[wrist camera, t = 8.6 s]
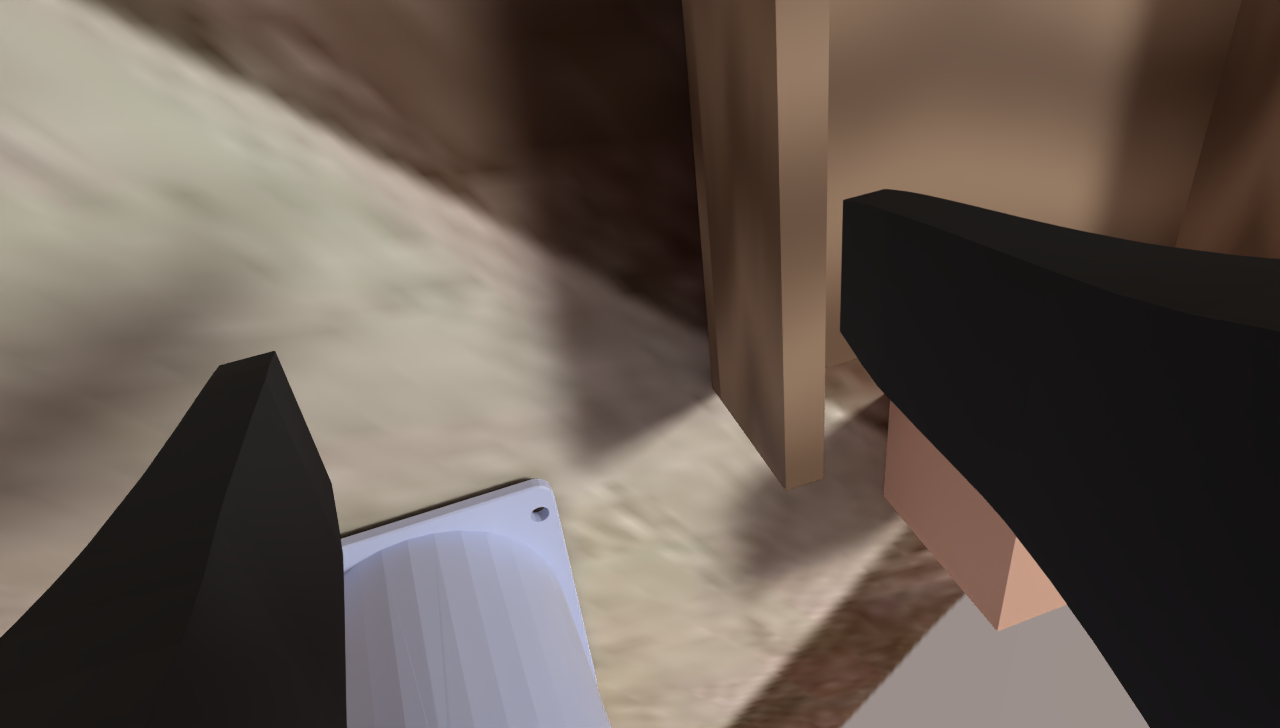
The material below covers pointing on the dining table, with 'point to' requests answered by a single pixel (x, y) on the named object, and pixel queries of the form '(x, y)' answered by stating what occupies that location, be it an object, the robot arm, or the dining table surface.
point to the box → (955, 153)
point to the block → (963, 529)
